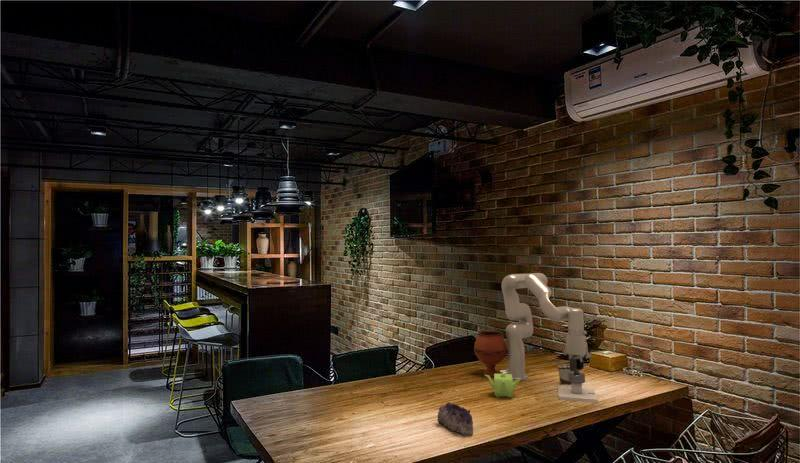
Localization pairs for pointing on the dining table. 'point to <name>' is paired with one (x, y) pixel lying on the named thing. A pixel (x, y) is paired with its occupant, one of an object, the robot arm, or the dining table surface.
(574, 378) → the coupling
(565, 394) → the post base
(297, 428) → the dining table surface
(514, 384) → the kettle
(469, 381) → the dining table surface
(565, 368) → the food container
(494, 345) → the goblet
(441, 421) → the geode
